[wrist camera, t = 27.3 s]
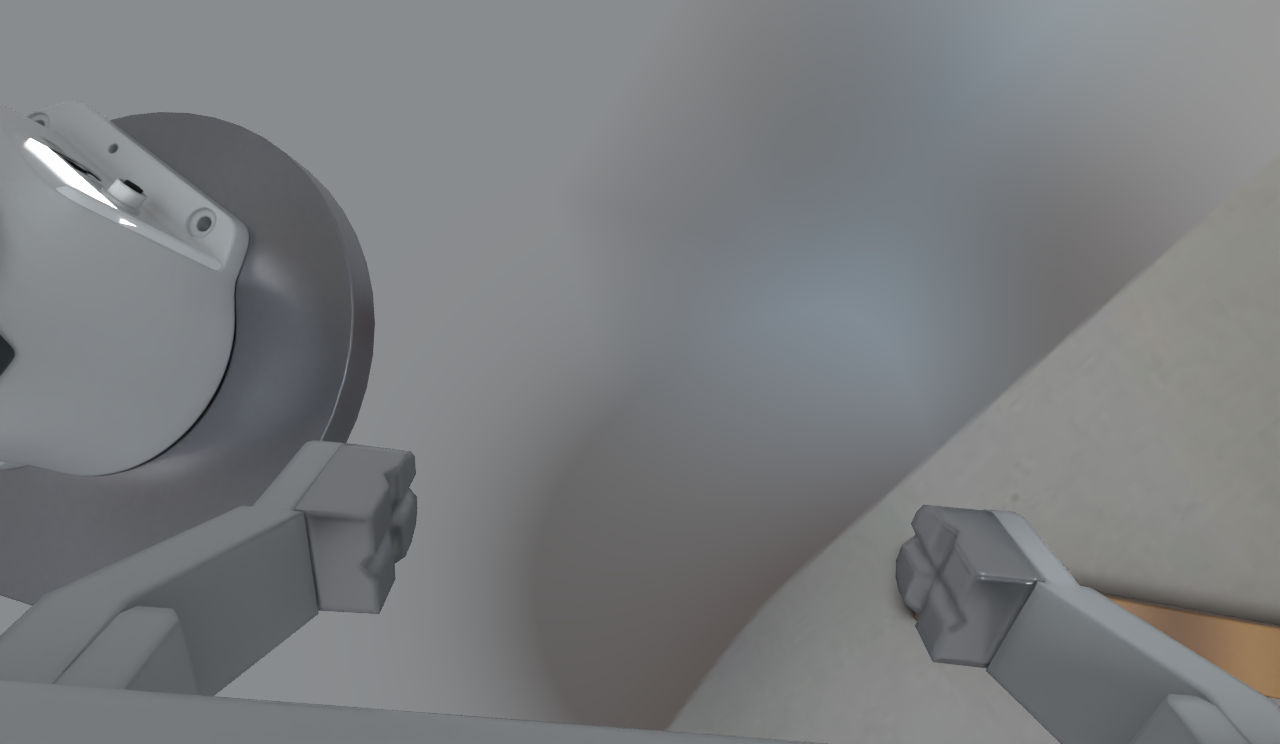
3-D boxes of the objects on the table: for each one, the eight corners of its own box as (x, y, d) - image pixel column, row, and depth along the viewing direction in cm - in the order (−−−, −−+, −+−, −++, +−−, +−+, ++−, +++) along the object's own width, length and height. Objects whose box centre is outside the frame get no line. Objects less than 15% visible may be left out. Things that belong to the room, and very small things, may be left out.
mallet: (909, 664, 26) (953, 704, 21) (922, 516, 27) (968, 521, 22) (1517, 789, 23) (1736, 870, 18) (1507, 616, 24) (1711, 648, 19)
